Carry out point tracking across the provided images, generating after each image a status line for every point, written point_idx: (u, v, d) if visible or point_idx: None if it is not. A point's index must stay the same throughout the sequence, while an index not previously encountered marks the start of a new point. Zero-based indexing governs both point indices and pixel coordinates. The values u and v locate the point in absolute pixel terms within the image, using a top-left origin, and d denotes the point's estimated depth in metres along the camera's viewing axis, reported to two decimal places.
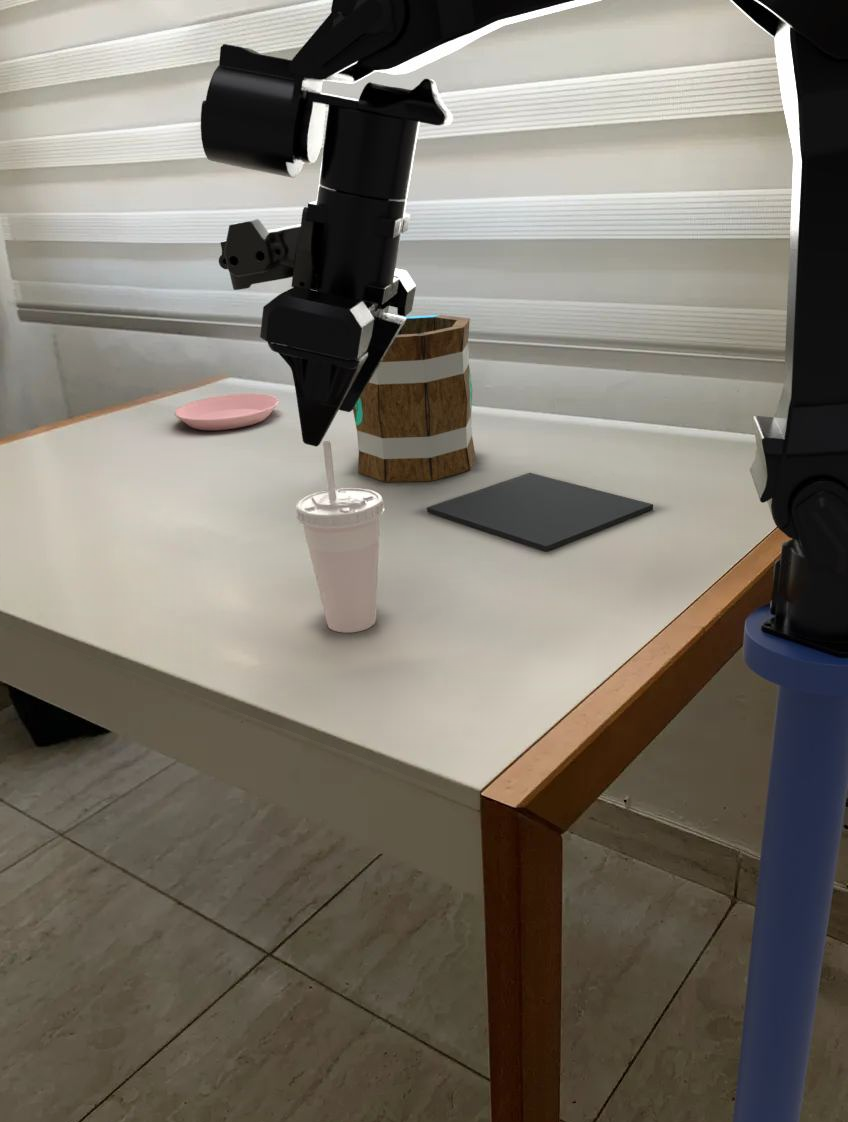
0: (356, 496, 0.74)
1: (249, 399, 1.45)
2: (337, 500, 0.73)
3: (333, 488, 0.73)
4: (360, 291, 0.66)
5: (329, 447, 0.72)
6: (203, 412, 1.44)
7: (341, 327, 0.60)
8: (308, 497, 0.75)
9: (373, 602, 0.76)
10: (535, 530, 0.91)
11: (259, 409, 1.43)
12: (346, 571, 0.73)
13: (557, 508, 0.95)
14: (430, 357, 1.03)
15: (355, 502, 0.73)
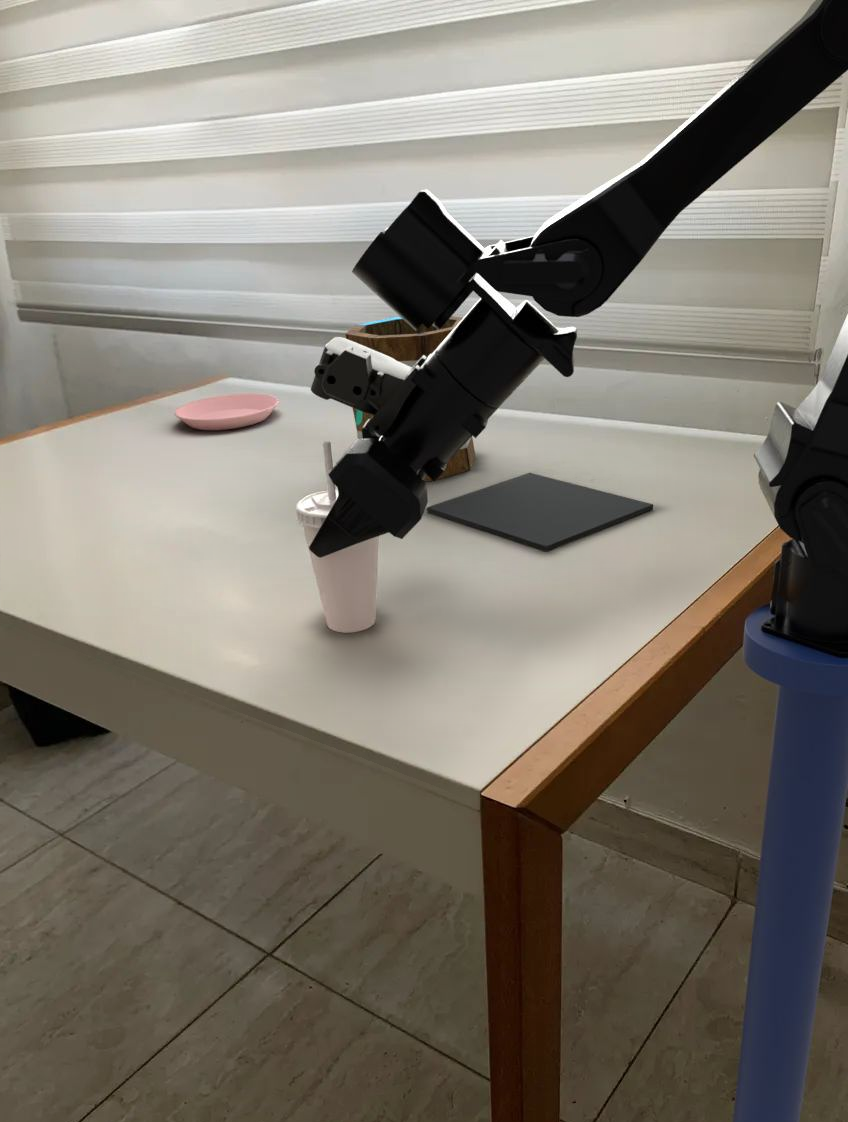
0: None
1: (249, 399, 1.45)
2: None
3: (333, 488, 0.73)
4: (422, 461, 0.69)
5: (329, 447, 0.72)
6: (203, 412, 1.44)
7: (405, 511, 0.63)
8: (308, 497, 0.75)
9: (373, 602, 0.76)
10: (535, 530, 0.91)
11: (259, 409, 1.43)
12: (345, 571, 0.73)
13: (557, 508, 0.95)
14: None
15: None
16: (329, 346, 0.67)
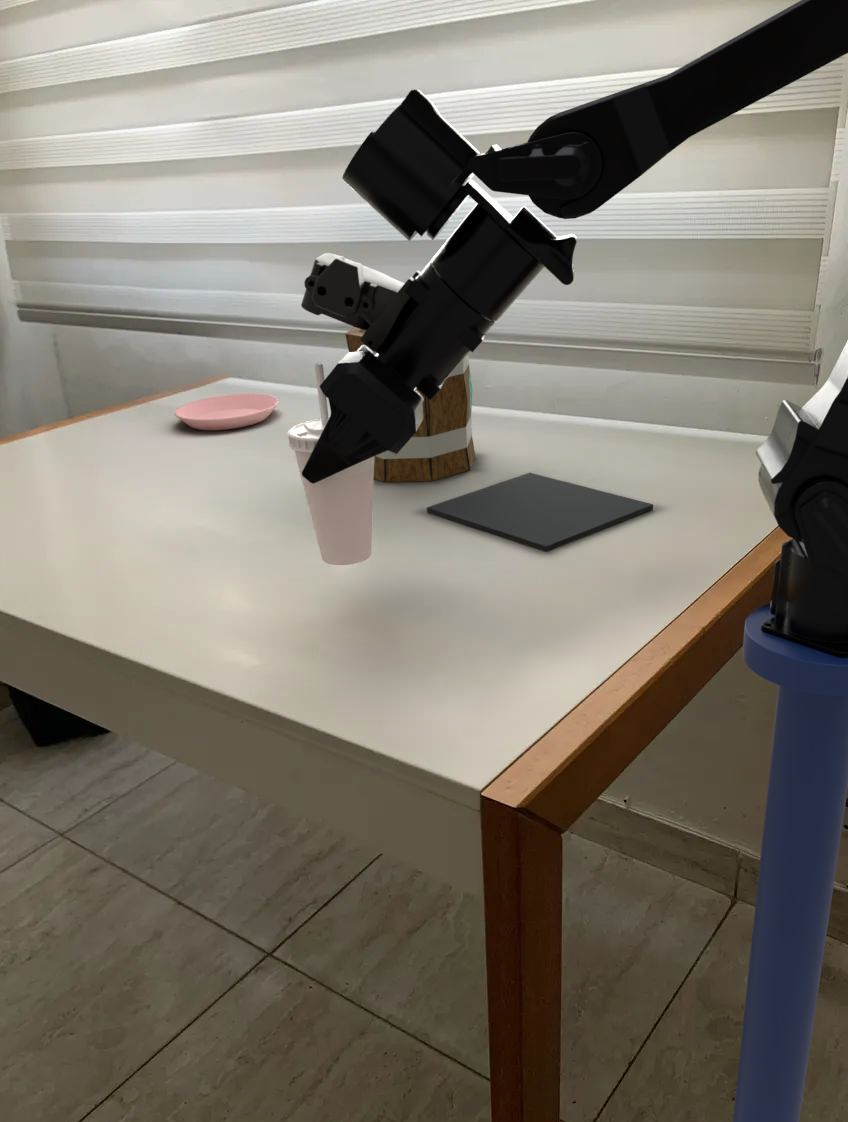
0: None
1: (249, 399, 1.45)
2: None
3: (326, 413, 0.71)
4: (418, 379, 0.66)
5: (321, 370, 0.70)
6: (203, 412, 1.44)
7: (399, 423, 0.61)
8: (300, 424, 0.73)
9: (369, 533, 0.74)
10: (535, 530, 0.91)
11: (259, 409, 1.43)
12: (340, 498, 0.71)
13: (557, 508, 0.95)
14: None
15: None
16: (320, 259, 0.65)
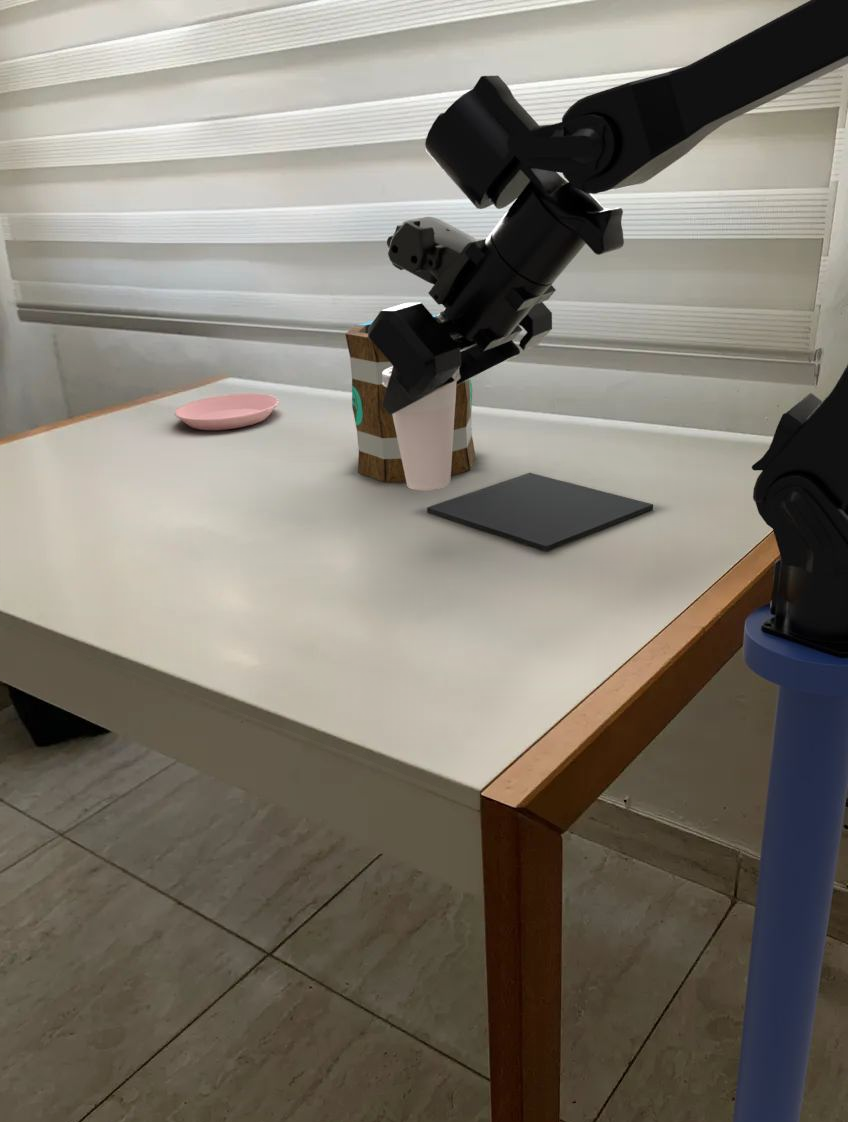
0: None
1: (249, 399, 1.45)
2: None
3: None
4: (473, 331, 0.75)
5: None
6: (203, 412, 1.44)
7: (421, 366, 0.71)
8: None
9: (443, 465, 0.84)
10: (535, 530, 0.91)
11: (259, 409, 1.43)
12: (413, 431, 0.82)
13: (557, 508, 0.95)
14: None
15: None
16: None
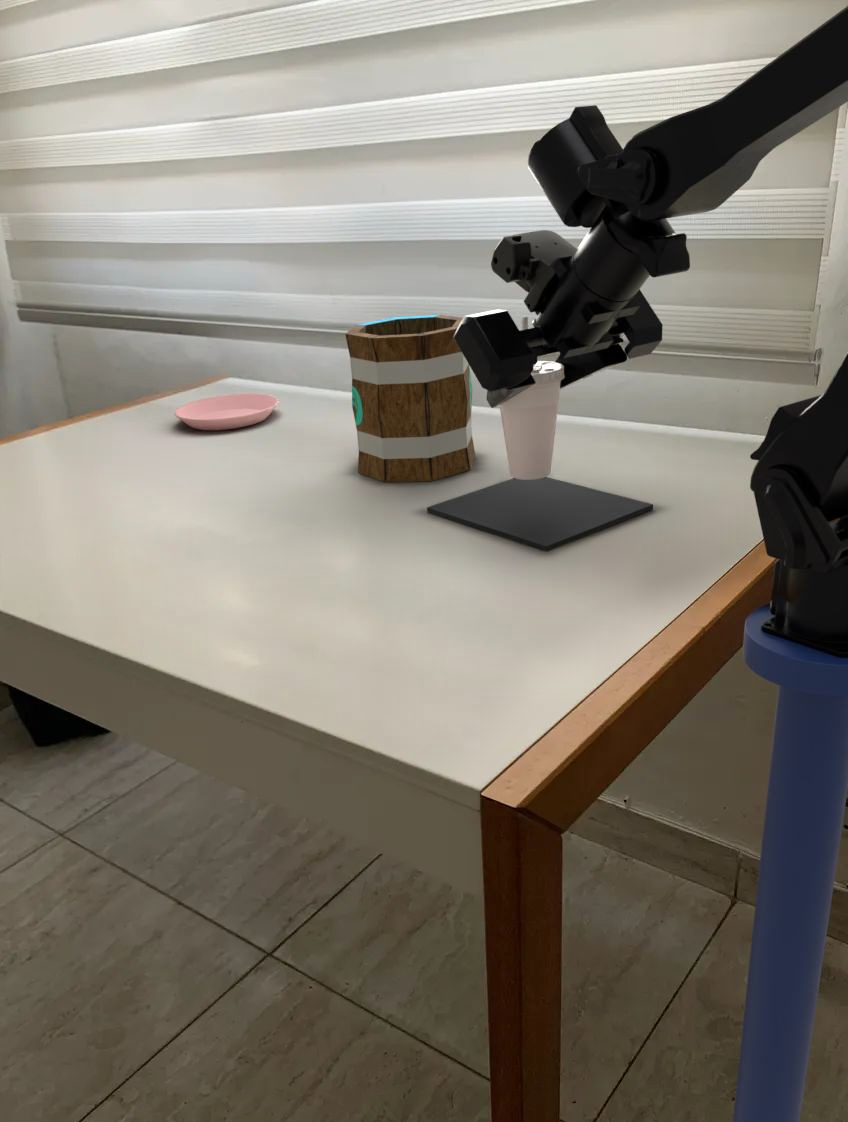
0: (546, 367, 0.90)
1: (249, 399, 1.45)
2: None
3: None
4: (556, 339, 0.82)
5: (524, 321, 0.89)
6: (203, 412, 1.44)
7: (487, 368, 0.80)
8: None
9: (538, 459, 0.92)
10: (535, 530, 0.91)
11: (259, 409, 1.43)
12: (512, 424, 0.91)
13: (557, 508, 0.95)
14: (430, 357, 1.03)
15: None
16: (518, 235, 0.84)
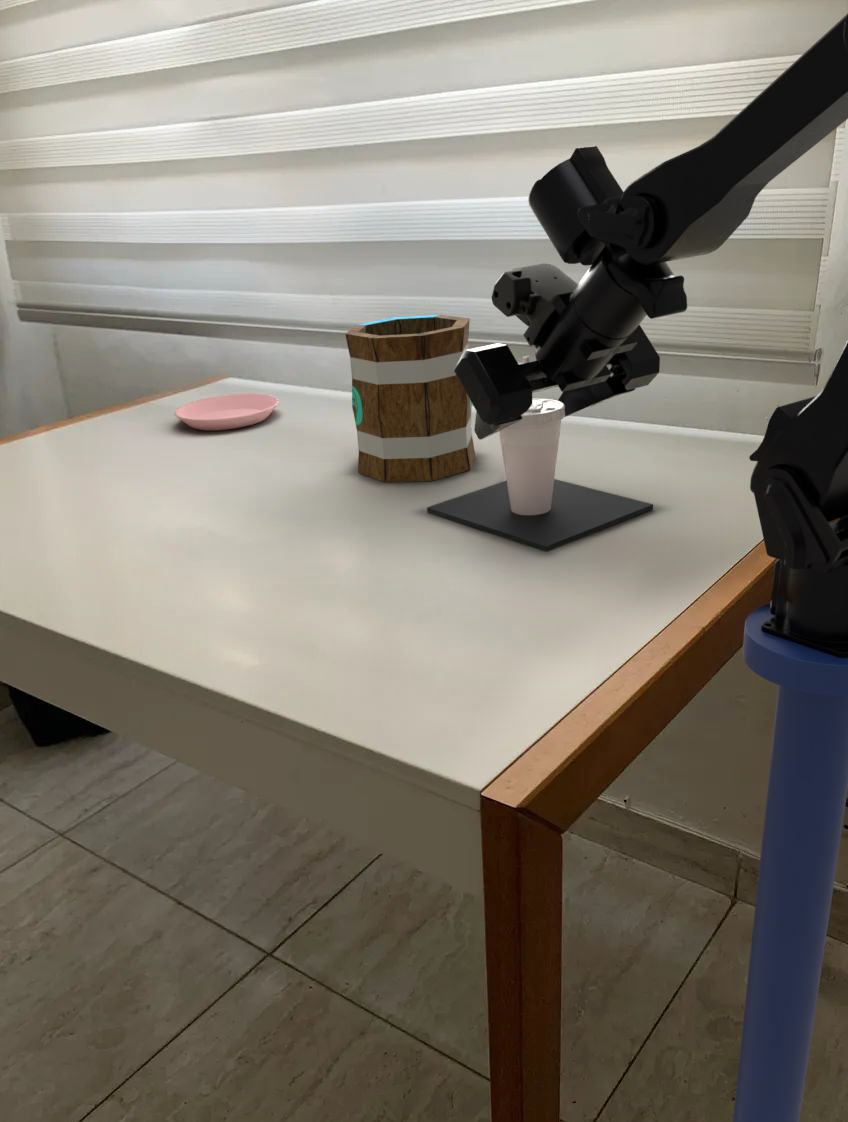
0: (547, 406, 0.91)
1: (249, 399, 1.45)
2: None
3: None
4: (555, 373, 0.84)
5: (526, 361, 0.90)
6: (203, 412, 1.44)
7: (487, 402, 0.81)
8: None
9: (539, 495, 0.93)
10: (535, 530, 0.91)
11: (259, 409, 1.43)
12: (513, 461, 0.92)
13: (557, 508, 0.95)
14: (430, 357, 1.03)
15: (532, 408, 0.90)
16: (519, 269, 0.85)
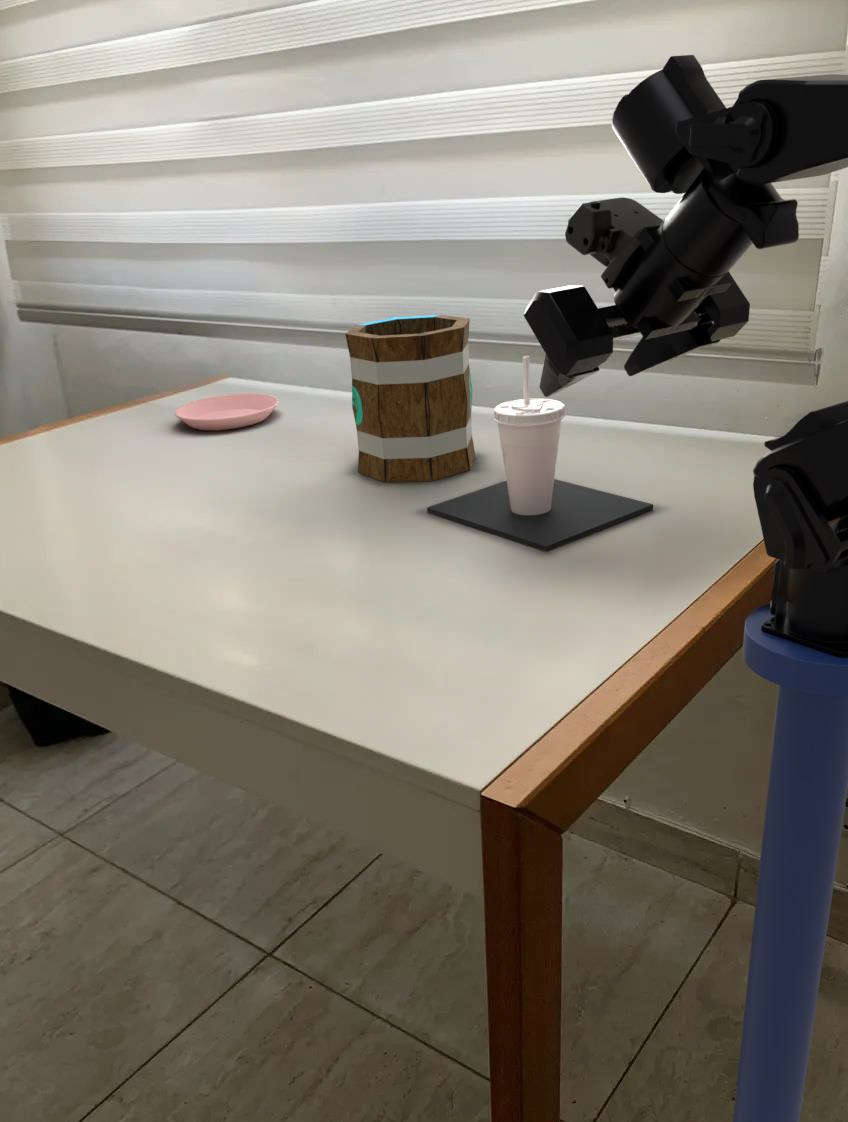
0: (547, 406, 0.91)
1: (249, 399, 1.45)
2: (526, 405, 0.91)
3: (526, 395, 0.91)
4: (637, 318, 0.74)
5: (526, 361, 0.90)
6: (203, 412, 1.44)
7: (563, 349, 0.72)
8: (520, 400, 0.94)
9: (539, 495, 0.93)
10: (535, 530, 0.91)
11: (259, 409, 1.43)
12: (513, 462, 0.92)
13: (557, 508, 0.95)
14: (430, 357, 1.03)
15: (532, 409, 0.90)
16: None
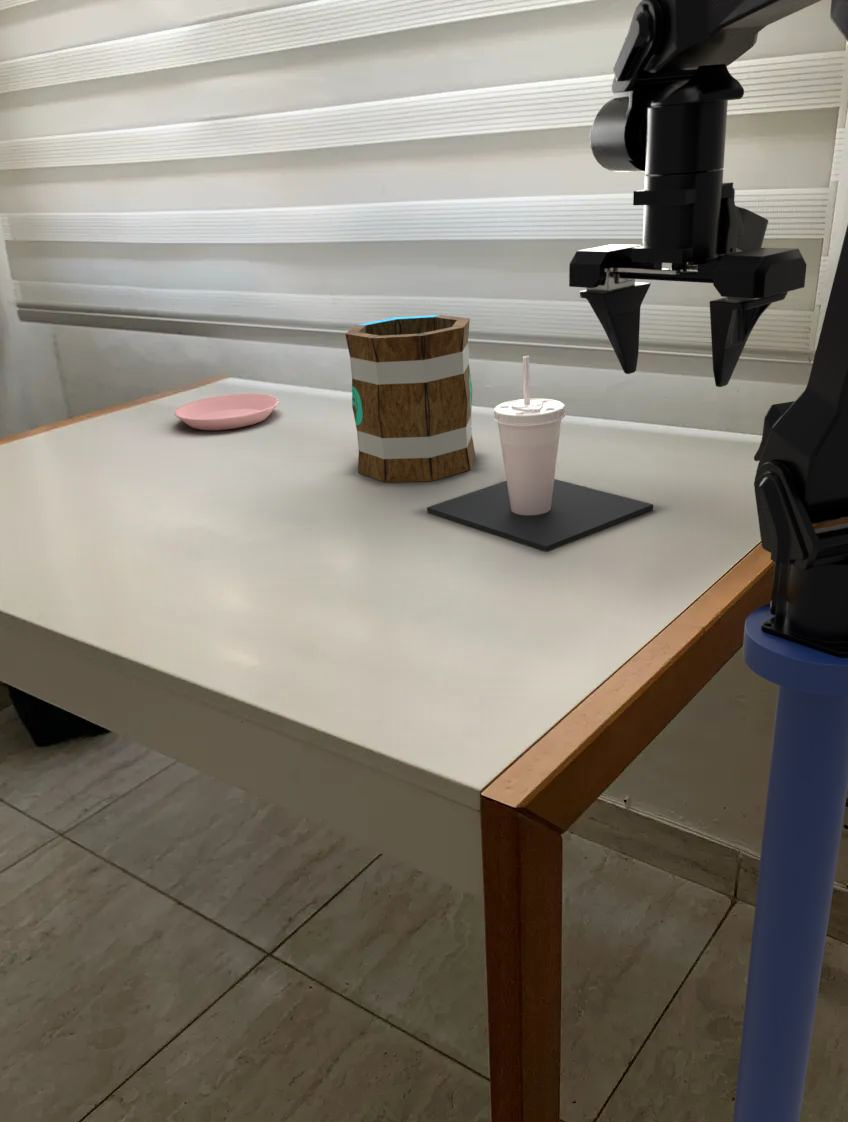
0: (547, 406, 0.91)
1: (249, 399, 1.45)
2: (526, 405, 0.91)
3: (526, 395, 0.91)
4: None
5: (526, 361, 0.90)
6: (203, 412, 1.44)
7: None
8: (520, 400, 0.94)
9: (539, 495, 0.93)
10: (535, 530, 0.91)
11: (259, 409, 1.43)
12: (513, 462, 0.92)
13: (557, 508, 0.95)
14: (430, 357, 1.03)
15: (532, 409, 0.90)
16: None
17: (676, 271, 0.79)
